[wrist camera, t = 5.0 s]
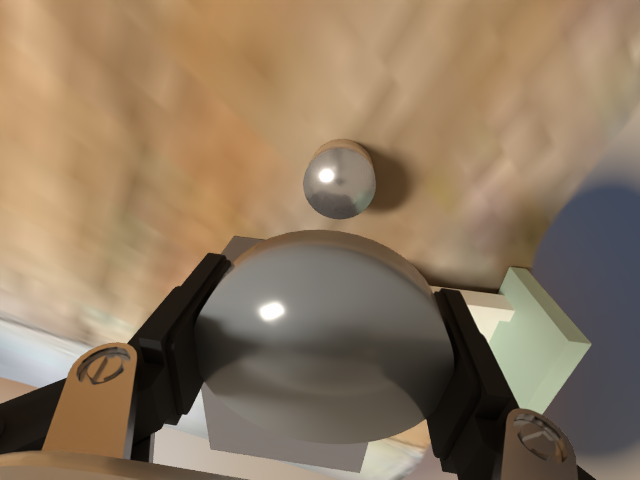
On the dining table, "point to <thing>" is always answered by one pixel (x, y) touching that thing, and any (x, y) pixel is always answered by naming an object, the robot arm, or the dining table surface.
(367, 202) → the ball
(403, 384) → the grey round dome
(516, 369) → the green drawer
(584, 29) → the dining table surface
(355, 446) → the grey drawer cabinet
